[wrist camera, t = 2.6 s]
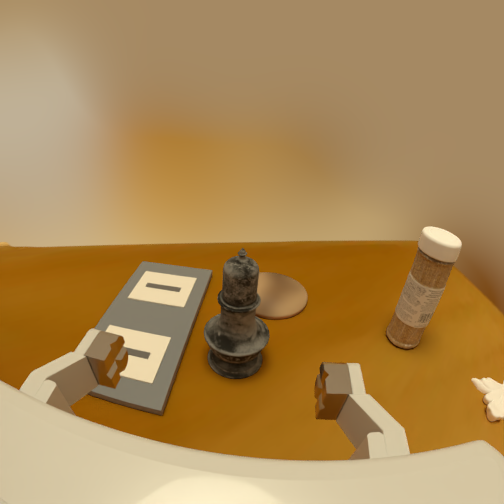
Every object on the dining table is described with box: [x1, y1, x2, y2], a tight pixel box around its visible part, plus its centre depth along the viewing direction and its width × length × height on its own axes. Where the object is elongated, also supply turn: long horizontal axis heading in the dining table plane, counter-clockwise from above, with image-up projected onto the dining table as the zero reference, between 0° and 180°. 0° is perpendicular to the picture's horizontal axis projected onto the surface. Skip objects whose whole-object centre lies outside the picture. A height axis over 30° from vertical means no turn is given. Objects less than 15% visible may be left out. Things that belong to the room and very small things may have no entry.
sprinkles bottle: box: [386, 227, 462, 349], centre depth 29 cm, size 5×5×13 cm
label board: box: [88, 261, 212, 415], centre depth 32 cm, size 10×22×1 cm, turn 175°
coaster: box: [255, 272, 307, 319], centre depth 38 cm, size 9×9×1 cm
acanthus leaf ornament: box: [471, 378, 504, 422], centre depth 22 cm, size 8×7×2 cm
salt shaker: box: [204, 248, 269, 379], centre depth 26 cm, size 6×6×12 cm
